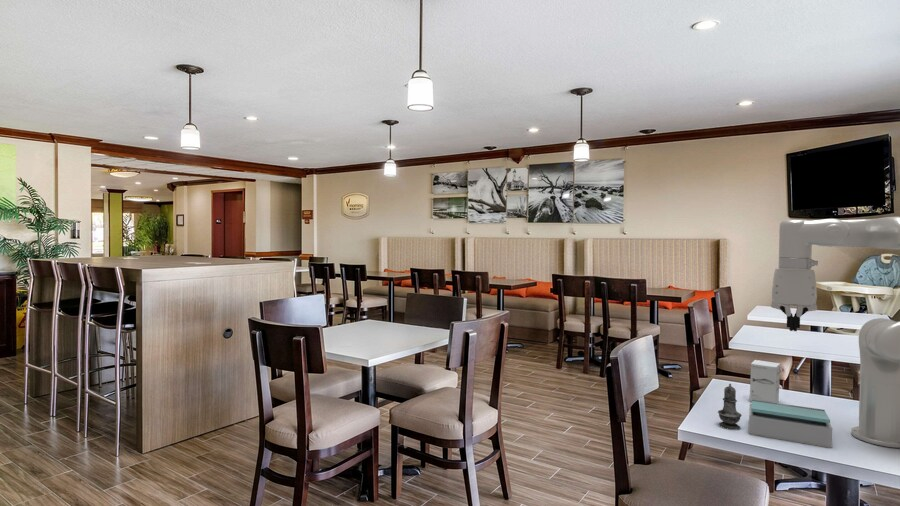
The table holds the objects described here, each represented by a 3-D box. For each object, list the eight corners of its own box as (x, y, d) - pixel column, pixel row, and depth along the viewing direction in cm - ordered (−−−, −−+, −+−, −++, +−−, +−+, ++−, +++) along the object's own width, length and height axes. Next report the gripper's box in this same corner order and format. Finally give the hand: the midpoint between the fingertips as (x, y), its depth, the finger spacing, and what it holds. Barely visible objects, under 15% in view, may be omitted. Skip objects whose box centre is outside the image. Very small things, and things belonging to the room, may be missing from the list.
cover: (824, 413, 140) (824, 409, 140) (830, 424, 129) (830, 419, 130) (751, 403, 149) (751, 399, 149) (751, 412, 138) (751, 407, 138)
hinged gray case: (826, 432, 140) (826, 414, 140) (831, 448, 130) (832, 428, 130) (749, 420, 149) (749, 403, 149) (748, 433, 139) (749, 415, 139)
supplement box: (749, 402, 167) (749, 363, 166) (753, 396, 172) (754, 359, 172) (775, 407, 162) (776, 366, 162) (779, 401, 168) (780, 362, 167)
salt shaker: (744, 426, 144) (745, 383, 144) (735, 431, 141) (736, 387, 140) (722, 420, 149) (723, 379, 149) (713, 425, 145) (714, 382, 145)
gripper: (826, 264, 142) (824, 331, 143) (762, 263, 150) (761, 326, 151) (829, 265, 136) (827, 335, 136) (763, 264, 144) (761, 330, 144)
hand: (793, 330), depth 143 cm, fingers closed
